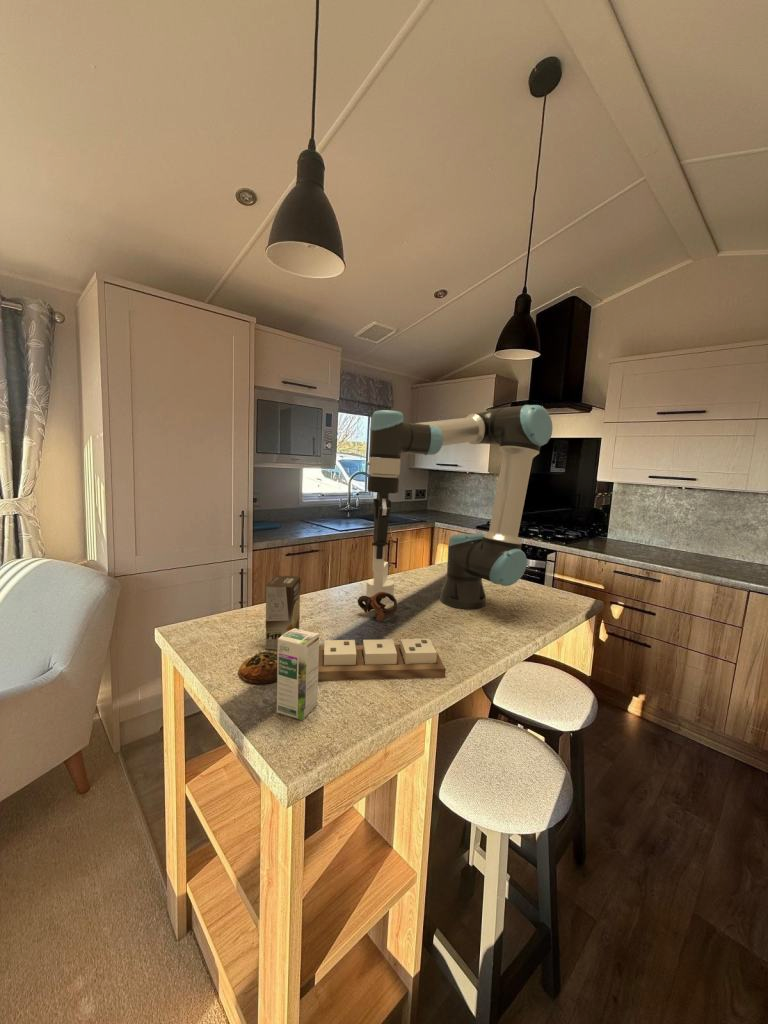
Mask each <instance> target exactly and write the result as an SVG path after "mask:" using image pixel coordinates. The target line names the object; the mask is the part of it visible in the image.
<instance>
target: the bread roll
mask: <svg viewBox="0 0 768 1024" xmlns="http://www.w3.org/2000/svg"><path fill="white" fill-rule="evenodd" d="M277 652H278V651H277ZM277 652H276V651H271V650H266V651H260V652H258V653H256V654H254V655H253V656H250V657H249V658H246V659H245V660H244V661H243V662H242V664H240V666H239V668H238V670H237V672H238V675H239V677H240V678H241V679H242V680H244V681H246V682H247V683H250V684H259V685H261V684H263V685H265V684H270V682H272V683H275V682H276V683H277Z"/></svg>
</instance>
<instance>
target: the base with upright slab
mask: <svg viewBox="0 0 768 1024" xmlns="http://www.w3.org/2000/svg"><path fill="white" fill-rule="evenodd" d="M388 573H389V561H384V572H379V571H373V578H370V579H368V580H367V581H366V596H368V597H372V596H374V595H375V594H376V593H378V592H386V593H389V594H391V595H393V596H394V591H395V590H394V589H395V581H393V580H391V579H389V578H388V576H389V575H388ZM381 603H382V604H385V605H387V604H391V603H394V602H393V601H391V600H390V599H389V598H388V597H387V596H386V597H385V598H382V600H381Z"/></svg>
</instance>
